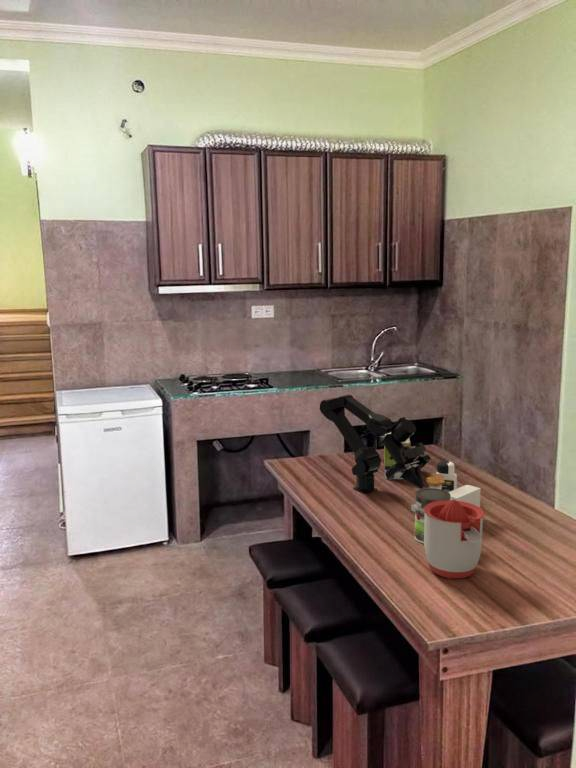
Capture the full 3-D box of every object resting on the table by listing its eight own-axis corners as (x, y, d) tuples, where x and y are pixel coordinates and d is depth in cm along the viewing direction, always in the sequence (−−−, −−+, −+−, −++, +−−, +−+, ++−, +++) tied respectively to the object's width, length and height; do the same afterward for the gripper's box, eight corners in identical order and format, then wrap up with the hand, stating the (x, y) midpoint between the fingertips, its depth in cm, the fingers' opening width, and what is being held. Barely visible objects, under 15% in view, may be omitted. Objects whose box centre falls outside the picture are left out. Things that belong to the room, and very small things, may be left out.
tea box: (384, 467, 271) (384, 431, 268) (409, 467, 270) (409, 432, 267) (384, 479, 256) (384, 441, 254) (410, 480, 255) (411, 442, 252)
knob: (421, 505, 222) (421, 476, 220) (432, 500, 226) (433, 472, 224) (436, 510, 218) (437, 480, 216) (447, 505, 222) (448, 476, 220)
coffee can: (427, 548, 195) (428, 502, 193) (407, 535, 205) (408, 491, 202) (456, 541, 199) (457, 496, 197) (435, 529, 209) (436, 485, 206)
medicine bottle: (432, 497, 236) (433, 464, 234) (436, 490, 243) (437, 458, 241) (453, 499, 234) (454, 466, 232) (456, 492, 240) (457, 460, 238)
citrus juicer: (449, 591, 170) (452, 516, 166) (411, 563, 186) (412, 494, 182) (498, 578, 176) (502, 506, 172) (457, 553, 192) (459, 486, 188)
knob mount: (407, 512, 223) (407, 483, 221) (431, 502, 231) (431, 474, 229) (456, 528, 209) (456, 498, 207) (479, 517, 217) (480, 488, 215)
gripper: (392, 441, 220) (419, 481, 213) (427, 431, 232) (453, 469, 226) (373, 459, 227) (399, 499, 221) (408, 449, 239) (433, 485, 233)
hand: (422, 487), depth 225 cm, fingers closed
